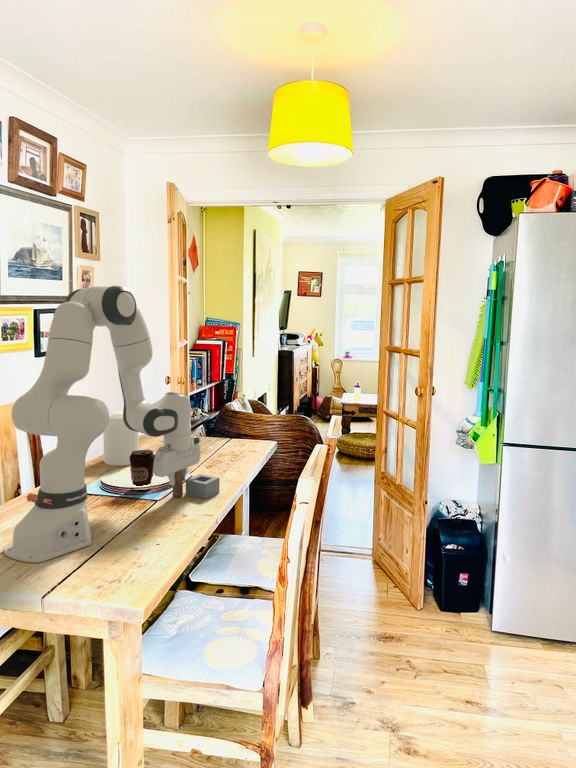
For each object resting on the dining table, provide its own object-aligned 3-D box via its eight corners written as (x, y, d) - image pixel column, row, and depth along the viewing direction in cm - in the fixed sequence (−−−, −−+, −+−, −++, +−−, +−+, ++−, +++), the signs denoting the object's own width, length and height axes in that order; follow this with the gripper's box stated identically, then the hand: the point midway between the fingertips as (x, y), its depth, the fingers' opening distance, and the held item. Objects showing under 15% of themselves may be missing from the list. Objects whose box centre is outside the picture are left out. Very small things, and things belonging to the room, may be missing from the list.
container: (137, 455, 239) (136, 407, 237) (141, 464, 227) (140, 413, 224) (102, 457, 235) (101, 408, 232) (105, 466, 222) (104, 415, 219)
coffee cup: (148, 494, 193) (147, 455, 191) (125, 491, 194) (124, 454, 193) (159, 486, 201) (158, 449, 199) (136, 483, 203) (136, 447, 201)
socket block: (205, 498, 190) (205, 484, 189) (185, 494, 193) (185, 480, 193) (219, 492, 197) (219, 477, 196) (200, 487, 200) (200, 473, 200)
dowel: (178, 498, 189) (178, 463, 187) (170, 497, 190) (170, 461, 189) (184, 496, 192) (184, 460, 190) (176, 494, 193) (176, 459, 191)
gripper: (164, 450, 178) (164, 493, 180) (203, 437, 196) (203, 476, 198) (148, 447, 181) (148, 490, 183) (188, 434, 199) (188, 473, 201)
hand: (177, 483), depth 190 cm, fingers closed on dowel, 3 cm apart
